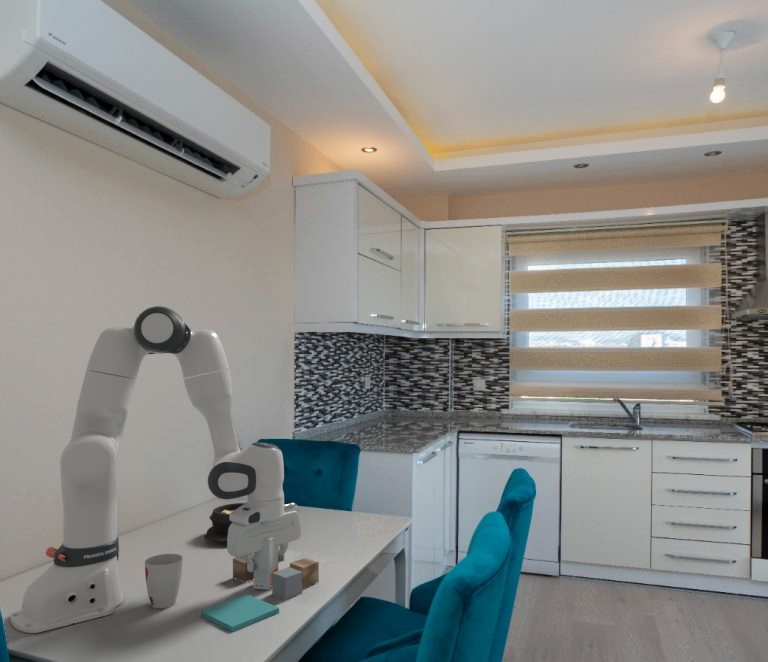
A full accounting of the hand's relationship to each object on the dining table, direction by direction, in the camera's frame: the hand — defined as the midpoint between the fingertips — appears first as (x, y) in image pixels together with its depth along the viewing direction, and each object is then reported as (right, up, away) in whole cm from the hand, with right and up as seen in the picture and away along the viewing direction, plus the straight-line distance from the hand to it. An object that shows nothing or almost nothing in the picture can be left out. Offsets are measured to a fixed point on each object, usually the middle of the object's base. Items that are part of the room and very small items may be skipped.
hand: (266, 566), depth 147 cm
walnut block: (-6, -5, +5) cm, 9 cm away
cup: (-21, -5, -11) cm, 24 cm away
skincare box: (0, -5, 0) cm, 5 cm away
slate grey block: (+6, -4, -5) cm, 9 cm away
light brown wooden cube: (+9, -5, +1) cm, 10 cm away
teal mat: (-2, -4, -17) cm, 17 cm away
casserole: (-17, -7, +42) cm, 46 cm away
